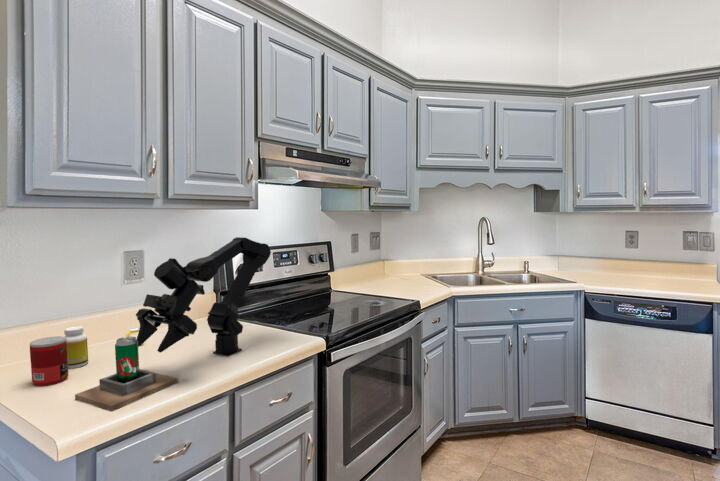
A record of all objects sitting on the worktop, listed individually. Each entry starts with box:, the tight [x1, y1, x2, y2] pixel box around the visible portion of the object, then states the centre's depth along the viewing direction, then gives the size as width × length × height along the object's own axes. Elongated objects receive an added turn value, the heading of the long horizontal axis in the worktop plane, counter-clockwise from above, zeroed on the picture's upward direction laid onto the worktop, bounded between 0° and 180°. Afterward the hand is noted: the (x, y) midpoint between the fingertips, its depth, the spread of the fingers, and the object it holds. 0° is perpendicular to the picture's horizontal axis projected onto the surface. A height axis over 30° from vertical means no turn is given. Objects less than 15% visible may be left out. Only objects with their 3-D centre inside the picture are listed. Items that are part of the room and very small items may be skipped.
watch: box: [125, 327, 140, 337], centre depth 145 cm, size 6×3×6 cm, turn 142°
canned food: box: [29, 335, 69, 387], centre depth 116 cm, size 8×8×11 cm
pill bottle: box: [63, 325, 89, 369], centre depth 128 cm, size 6×6×11 cm
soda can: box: [114, 336, 140, 384], centre depth 109 cm, size 5×5×12 cm
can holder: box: [74, 368, 179, 412], centre depth 110 cm, size 18×14×4 cm
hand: (147, 349), depth 114 cm, fingers open, 9 cm apart
